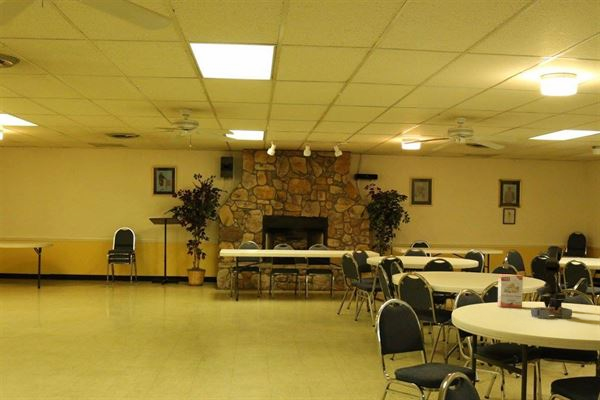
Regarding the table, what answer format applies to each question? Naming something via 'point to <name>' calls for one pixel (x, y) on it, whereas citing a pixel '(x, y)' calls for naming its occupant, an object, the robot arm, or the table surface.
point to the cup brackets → (545, 314)
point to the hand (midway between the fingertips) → (551, 309)
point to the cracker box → (510, 290)
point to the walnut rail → (552, 310)
